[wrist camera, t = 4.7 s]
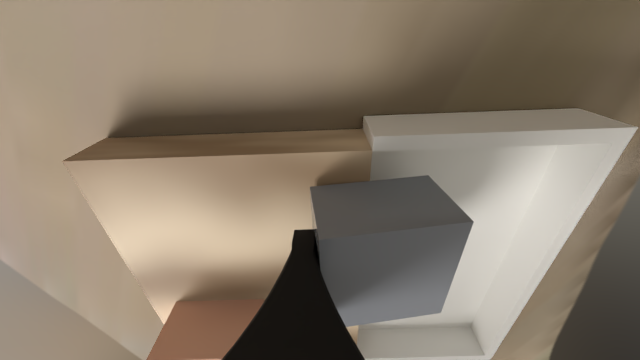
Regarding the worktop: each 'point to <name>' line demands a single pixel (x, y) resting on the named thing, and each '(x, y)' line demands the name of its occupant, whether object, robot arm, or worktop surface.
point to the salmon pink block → (203, 329)
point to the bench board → (212, 205)
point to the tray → (491, 212)
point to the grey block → (387, 246)
